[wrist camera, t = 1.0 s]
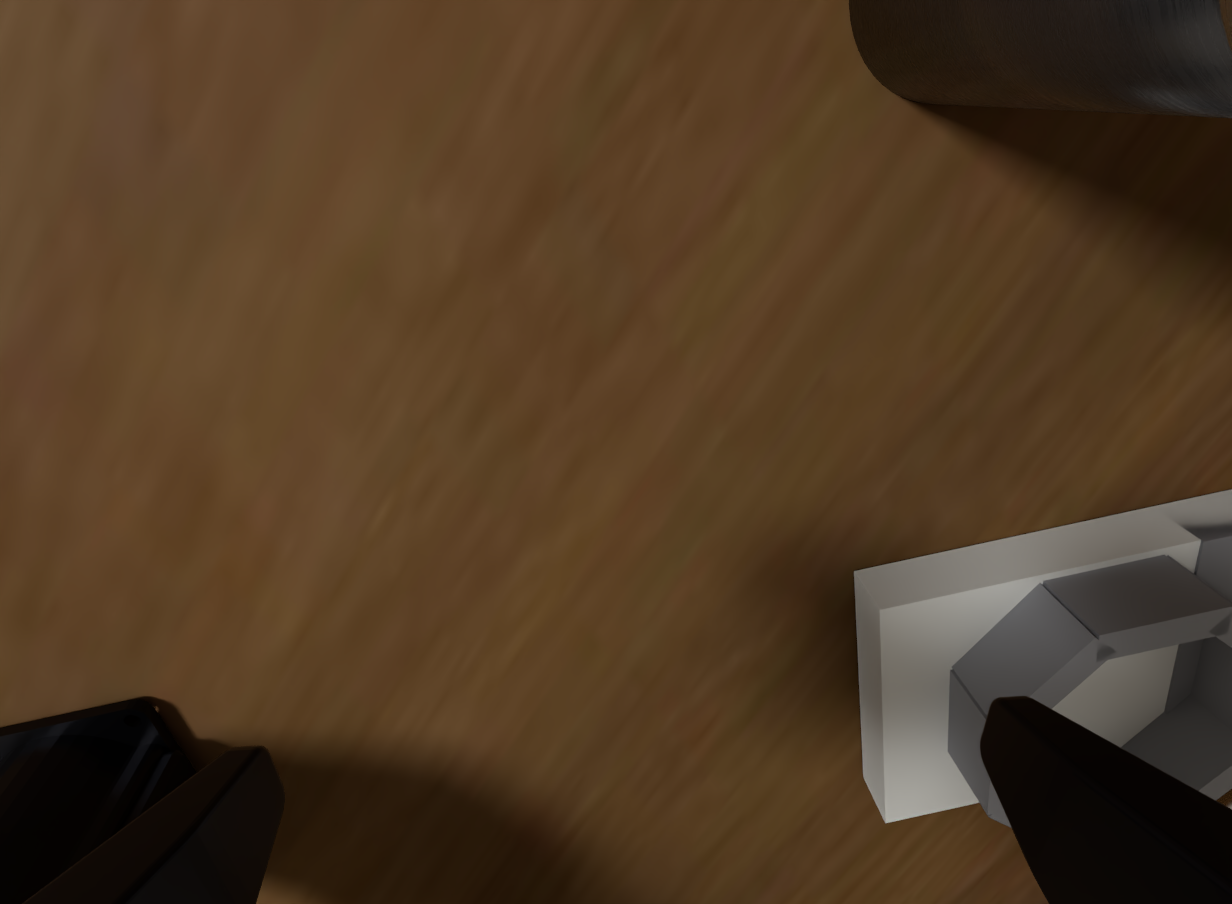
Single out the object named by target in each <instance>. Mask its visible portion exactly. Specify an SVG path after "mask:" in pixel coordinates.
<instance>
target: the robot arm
mask: <svg viewBox="0 0 1232 904" xmlns="http://www.w3.org/2000/svg"><path fill="white" fill-rule="evenodd" d="M133 715H135V716H133ZM136 716H138V717H136ZM980 753H981V758H982V761H983V764H984V767H985V769H986V771H987V773H988V776H989V778H990V780H991V782H992V785H993V787H994V789H995V791H996V794H997V796H998V798H999V800H1000V803H1001V805H1002V807H1003V809H1004V812H1005V814H1006V816H1007V818H1008V821H1009V823H1010V825H1011V827H1012V830H1013V832H1014V834H1015V836H1016V839H1017V841H1018V843H1019V845H1020V848H1021V850H1022V852H1023V854H1024V857H1025V859H1026V861H1027V863H1028V865H1029V867H1030V869H1031V871H1032V873H1033V875H1034V877H1035V879H1036V881H1037V883H1038V884H1039V886H1040V888H1041V890H1042V892H1043V894H1044V895H1045V897H1046V899H1047V901H1048V902H1049V904H1232V809H1230V808H1228V807H1226V806H1225V805H1223V804H1221V803H1219V802H1218V801H1216V800H1214V799H1212V798H1210V797H1209V796H1207V795H1205V794H1203V793H1201V792H1200V791H1198V790H1196V789H1194V788H1192V787H1191V786H1189V785H1187V784H1185V783H1183V782H1182V781H1180V780H1178V779H1176V778H1174V777H1173V776H1171V775H1169V774H1167V773H1165V772H1164V771H1162V770H1160V769H1158V768H1157V767H1155V766H1153V765H1151V764H1149V763H1148V762H1146V761H1144V760H1142V759H1140V758H1139V757H1137V756H1135V755H1133V754H1131V753H1130V752H1128V751H1126V750H1124V749H1122V748H1121V747H1119V746H1117V745H1115V744H1113V743H1112V742H1110V741H1108V740H1106V739H1104V738H1103V737H1101V736H1099V735H1097V734H1095V733H1094V732H1092V731H1090V730H1088V729H1087V728H1085V727H1083V726H1081V725H1079V724H1078V723H1076V722H1074V721H1072V720H1070V719H1069V718H1067V717H1065V716H1063V715H1061V714H1060V713H1058V712H1056V711H1054V710H1052V709H1051V708H1049V707H1047V706H1045V705H1043V704H1042V703H1040V702H1038V701H1036V700H1034V699H1032V698H1030V697H1028V696H1008V697H998V698H995V699H994V700H993V701H992V702H991V705H990V708H989V711H988V715H987V718H986V722H985V725H984V729H983V732H982V736H981V739H980ZM284 802H285V793H284V787H283V784H282V782H281V779H280V777H279V774H278V772H277V770H276V767H275V765H274V762H273V760H272V758H271V755H270V753H269V751H268V750H267V749H266V748H265V747H264V746H244V747H234V748H231V749H229V750H227V751H226V752H224V753H223V754H222V755H220V756H219V757H218V758H216V759H215V760H214V761H212V762H211V763H210V764H208V765H207V766H205V767H204V768H203V769H201V770H200V771H199V772H197V773H196V771H195V770H194V768H193V767H192V765H191V764H190V762H189V760H188V759H187V757H186V756H185V754H184V753H183V751H182V750H181V748H180V747H179V745H178V744H177V742H176V741H175V739H174V738H173V736H172V734H171V733H170V731H169V730H168V728H167V727H166V725H165V724H164V722H163V721H162V719H161V718H160V716H159V715H158V713H157V711H156V710H155V708H154V707H153V706H152V705H151V704H149V703H148V702H146V701H142V700H128V701H124V702H119V703H115V704H110V705H105V706H101V707H96V708H91V709H87V710H82V711H78V712H73V713H68V714H64V715H59V716H54V717H50V718H45V719H41V720H36V721H31V722H27V723H22V724H17V725H13V726H8V727H4V728H0V904H256V902H257V898H258V895H259V891H260V888H261V885H262V881H263V878H264V874H265V871H266V868H267V864H268V861H269V857H270V854H271V851H272V847H273V844H274V840H275V837H276V833H277V830H278V827H279V823H280V820H281V816H282V813H283V809H284Z"/></svg>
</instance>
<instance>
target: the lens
mask: <svg viewBox="0 0 1232 904" xmlns="http://www.w3.org/2000/svg"><path fill="white" fill-rule="evenodd" d="M849 10H850V21H851V26H852V31H853V35H854V39H855V42H856V45H857V47H858V50H859V52H860V54H861V56H862V58H863V60H864V62H865V64H866V65H867V67H868V68H869V70H870V71H871V73H872V74H873V75H874V76H875V77H876V78H877V79H878V81H879V82H880V83H881V84H882V85H884V86H885V87H886V88H888V89H889V90H890V91H892V92H893V93H895V94H897V95H899V96H901V97H903V98H905V99H908V100H911V101H914V102H919V103H925V104H941V105H962V106H984V107H1005V108H1026V109H1048V110H1069V111H1090V112H1112V113H1133V114H1154V115H1176V116H1197V117H1218V118H1232V0H849Z"/></svg>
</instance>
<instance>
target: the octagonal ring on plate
mask: <svg viewBox="0 0 1232 904" xmlns="http://www.w3.org/2000/svg"><path fill="white" fill-rule="evenodd" d="M854 585H855V607H856V628H857V650H858V672H859V694H860V715H861V737H862V759H863V778H864V780H865V782H866V784H867V786H868V788H869V790H870V792H871V794H872V796H873V798H874V801H875V803H876V805H877V807H878V809H879V811H880V813H881V815H882V817H883V819H884V821H885V823H889V822H893V821H898V820H903V819H907V818H912V817H916V816H921V815H925V814H930V813H934V812H939V811H943V810H948V809H953V808H957V807H962V806H966V805H971V804H975V803H980V804H981V806H982V807H983V809H984V810H985V812H986V814H987V815H988V817H989V818H992V819H994V820H996V821H998V822H1000V823H1002V824H1004V825H1006V826H1009V827H1011V825H1010V823H1009V821H1008V818H1007V816H1006V814H1005V812H1004V809H1003V807H1002V805H1001V803H1000V800H999V798H998V796H997V794H996V791H995V789H994V787H993V785H992V782H991V780H990V778H989V776H988V773H987V771H986V769H985V767H984V764H983V761H982V758H981V753H980V739H981V736H982V732H983V729H984V725H985V722H986V718H987V715H988V711H989V708H990V705H991V702H992V701H993V700H994V699H995V698H998V697H1008V696H1028V697H1030V698H1032V699H1034V700H1036V701H1038V702H1040V703H1042V704H1043V705H1045V706H1047V707H1049V708H1051V709H1052V710H1054V711H1056V712H1058V713H1060V714H1061V715H1063V716H1065V717H1067V718H1069V719H1070V720H1072V721H1074V722H1076V723H1078V724H1079V725H1081V726H1083V727H1085V728H1087V729H1088V730H1090V731H1092V732H1094V733H1095V734H1097V735H1099V736H1101V737H1103V738H1104V739H1106V740H1108V741H1110V742H1112V743H1113V744H1115V745H1117V746H1119V747H1121V748H1122V749H1124V750H1126V751H1128V752H1130V753H1131V754H1133V755H1135V756H1137V757H1139V758H1140V759H1142V760H1144V761H1146V762H1148V763H1149V764H1151V765H1153V766H1155V767H1157V768H1158V769H1160V770H1162V771H1164V772H1165V773H1167V774H1169V775H1171V776H1173V777H1174V778H1176V779H1178V780H1180V781H1182V782H1183V783H1185V784H1187V785H1189V786H1191V787H1192V788H1194V789H1196V790H1198V791H1200V792H1201V793H1203V794H1205V795H1207V796H1209V797H1210V798H1212V799H1214V800H1217V799H1218V798H1220V797H1221V796H1222V795H1224V794H1225V793H1226V792H1228V791H1229V790H1230V789H1232V489H1231V490H1226V491H1222V492H1217V493H1212V494H1208V495H1203V496H1198V497H1194V498H1189V499H1185V500H1180V501H1175V502H1171V503H1166V504H1162V505H1157V506H1152V507H1148V508H1143V509H1138V510H1134V511H1129V512H1125V513H1120V514H1115V515H1111V516H1106V517H1102V518H1097V519H1092V520H1088V521H1083V522H1078V523H1074V524H1069V525H1065V526H1060V527H1055V528H1051V529H1046V530H1042V531H1037V532H1032V533H1028V534H1023V535H1019V536H1014V537H1009V538H1005V539H1000V540H995V541H991V542H986V543H982V544H977V545H972V546H968V547H963V548H959V549H954V550H949V551H945V552H940V553H935V554H931V555H926V556H922V557H917V558H912V559H908V560H903V561H899V562H894V563H889V564H885V565H880V566H875V567H871V568H866V569H862V570H857V571H854ZM1011 828H1012V827H1011Z"/></svg>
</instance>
